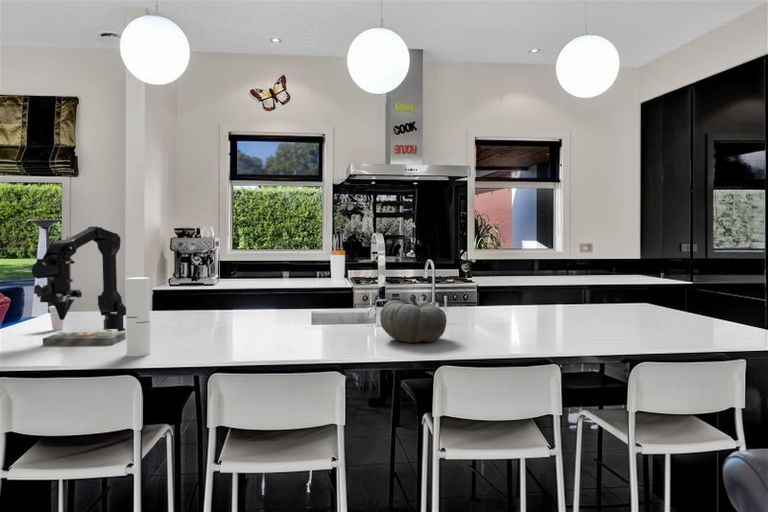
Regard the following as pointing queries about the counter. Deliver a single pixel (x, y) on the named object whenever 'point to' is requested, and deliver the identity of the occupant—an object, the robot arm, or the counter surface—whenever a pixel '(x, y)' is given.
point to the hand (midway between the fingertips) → (62, 319)
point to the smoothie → (55, 319)
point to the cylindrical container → (138, 316)
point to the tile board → (84, 340)
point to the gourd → (413, 321)
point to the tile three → (108, 332)
